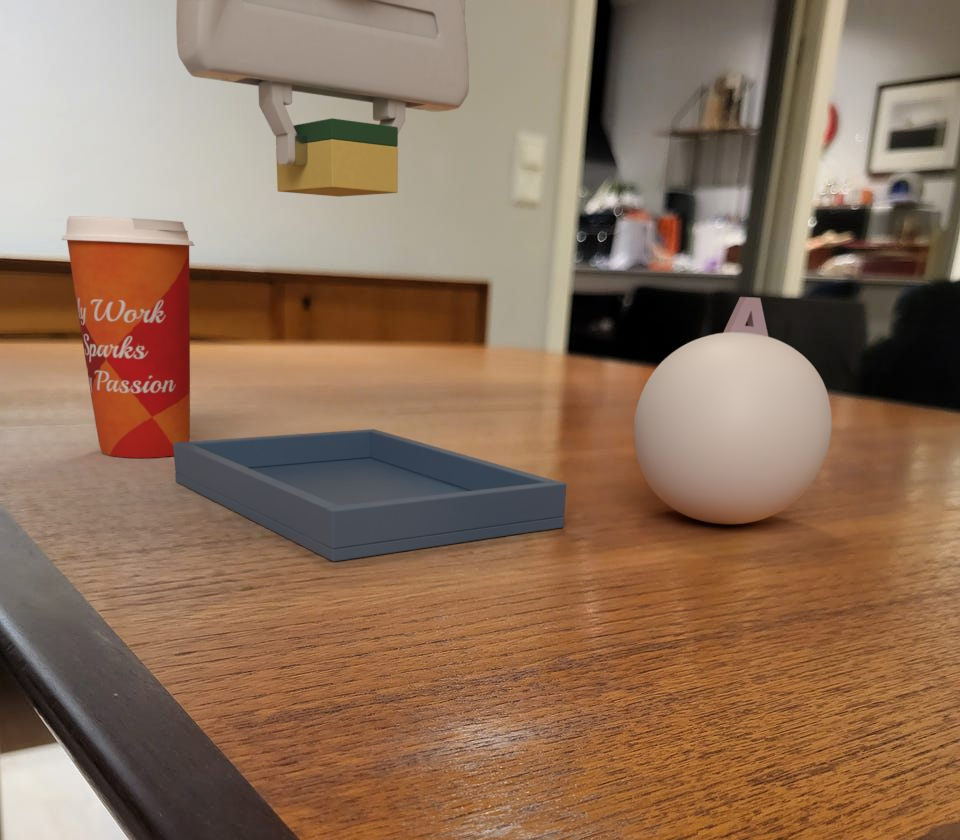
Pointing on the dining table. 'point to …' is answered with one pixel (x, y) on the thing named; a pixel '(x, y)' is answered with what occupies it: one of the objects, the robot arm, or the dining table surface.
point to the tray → (367, 491)
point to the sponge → (344, 160)
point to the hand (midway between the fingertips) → (334, 170)
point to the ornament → (733, 424)
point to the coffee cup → (134, 329)
